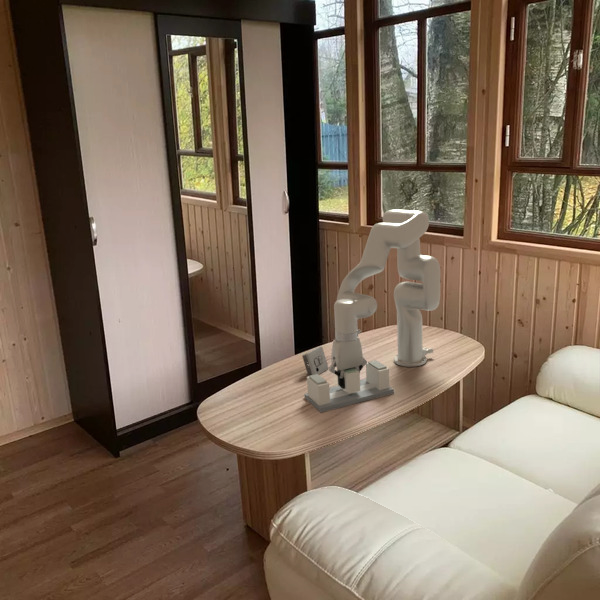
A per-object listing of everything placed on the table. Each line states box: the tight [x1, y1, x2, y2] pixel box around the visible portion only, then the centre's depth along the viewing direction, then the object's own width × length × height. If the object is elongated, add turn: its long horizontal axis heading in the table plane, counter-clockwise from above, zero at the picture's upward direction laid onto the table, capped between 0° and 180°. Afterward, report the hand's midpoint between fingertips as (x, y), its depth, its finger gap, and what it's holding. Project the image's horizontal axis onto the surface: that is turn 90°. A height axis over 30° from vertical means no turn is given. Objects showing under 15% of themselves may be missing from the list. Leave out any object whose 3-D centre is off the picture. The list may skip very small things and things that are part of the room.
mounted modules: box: [306, 359, 390, 406], centre depth 207 cm, size 27×9×8 cm, turn 114°
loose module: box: [336, 368, 361, 394], centre depth 207 cm, size 4×8×8 cm, turn 24°
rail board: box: [303, 378, 395, 413], centre depth 209 cm, size 28×13×2 cm, turn 114°
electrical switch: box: [301, 346, 329, 376], centre depth 230 cm, size 9×5×9 cm, turn 141°
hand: (348, 385), depth 208 cm, fingers closed on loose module, 4 cm apart
